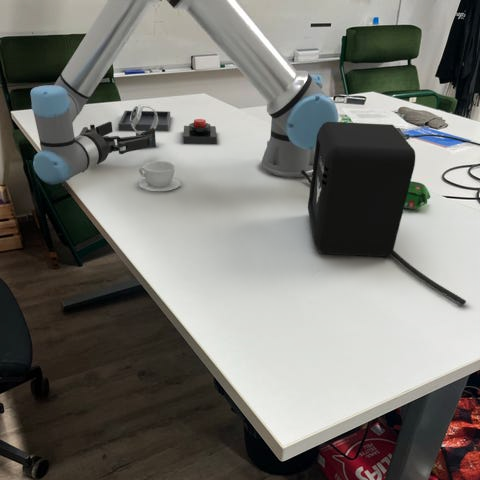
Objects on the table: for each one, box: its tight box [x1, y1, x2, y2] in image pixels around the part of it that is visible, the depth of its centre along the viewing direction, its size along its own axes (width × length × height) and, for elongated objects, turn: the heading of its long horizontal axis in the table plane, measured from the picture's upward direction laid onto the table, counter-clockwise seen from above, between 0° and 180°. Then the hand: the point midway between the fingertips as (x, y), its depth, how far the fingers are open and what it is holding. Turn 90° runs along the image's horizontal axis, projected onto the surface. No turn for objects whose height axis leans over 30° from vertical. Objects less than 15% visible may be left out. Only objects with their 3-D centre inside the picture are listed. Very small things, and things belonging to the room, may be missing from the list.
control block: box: [182, 122, 218, 145], centre depth 148 cm, size 12×10×4 cm
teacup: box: [138, 160, 181, 192], centre depth 115 cm, size 10×10×5 cm
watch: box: [130, 104, 158, 149], centre depth 138 cm, size 6×8×11 cm
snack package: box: [404, 180, 431, 210], centre depth 111 cm, size 7×16×5 cm, turn 68°
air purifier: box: [307, 121, 416, 258], centre depth 92 cm, size 20×15×20 cm
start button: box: [193, 118, 207, 127], centre depth 146 cm, size 4×4×2 cm
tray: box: [117, 110, 171, 132], centre depth 160 cm, size 18×16×2 cm
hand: (132, 129), depth 133 cm, fingers open, 13 cm apart
